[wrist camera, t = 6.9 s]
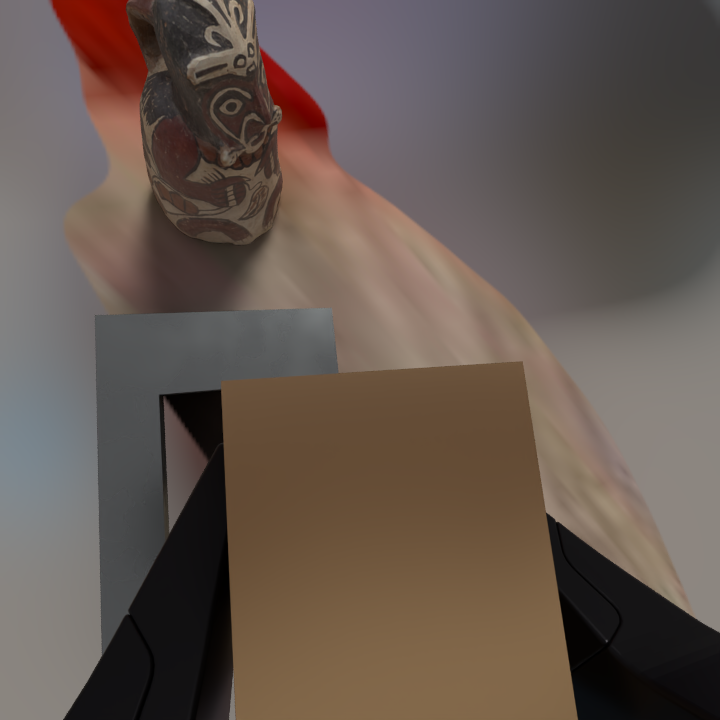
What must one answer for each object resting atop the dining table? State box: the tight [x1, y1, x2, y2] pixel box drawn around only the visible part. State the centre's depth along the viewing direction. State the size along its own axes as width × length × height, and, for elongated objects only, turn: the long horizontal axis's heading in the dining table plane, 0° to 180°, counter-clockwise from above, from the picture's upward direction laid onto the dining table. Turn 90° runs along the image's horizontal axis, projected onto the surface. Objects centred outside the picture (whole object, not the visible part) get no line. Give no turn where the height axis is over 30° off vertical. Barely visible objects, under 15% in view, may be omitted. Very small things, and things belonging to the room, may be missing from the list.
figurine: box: [126, 0, 283, 245], centre depth 17 cm, size 7×7×12 cm
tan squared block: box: [221, 361, 578, 720], centre depth 10 cm, size 5×4×11 cm
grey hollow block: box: [95, 308, 338, 655], centre depth 18 cm, size 14×10×5 cm
